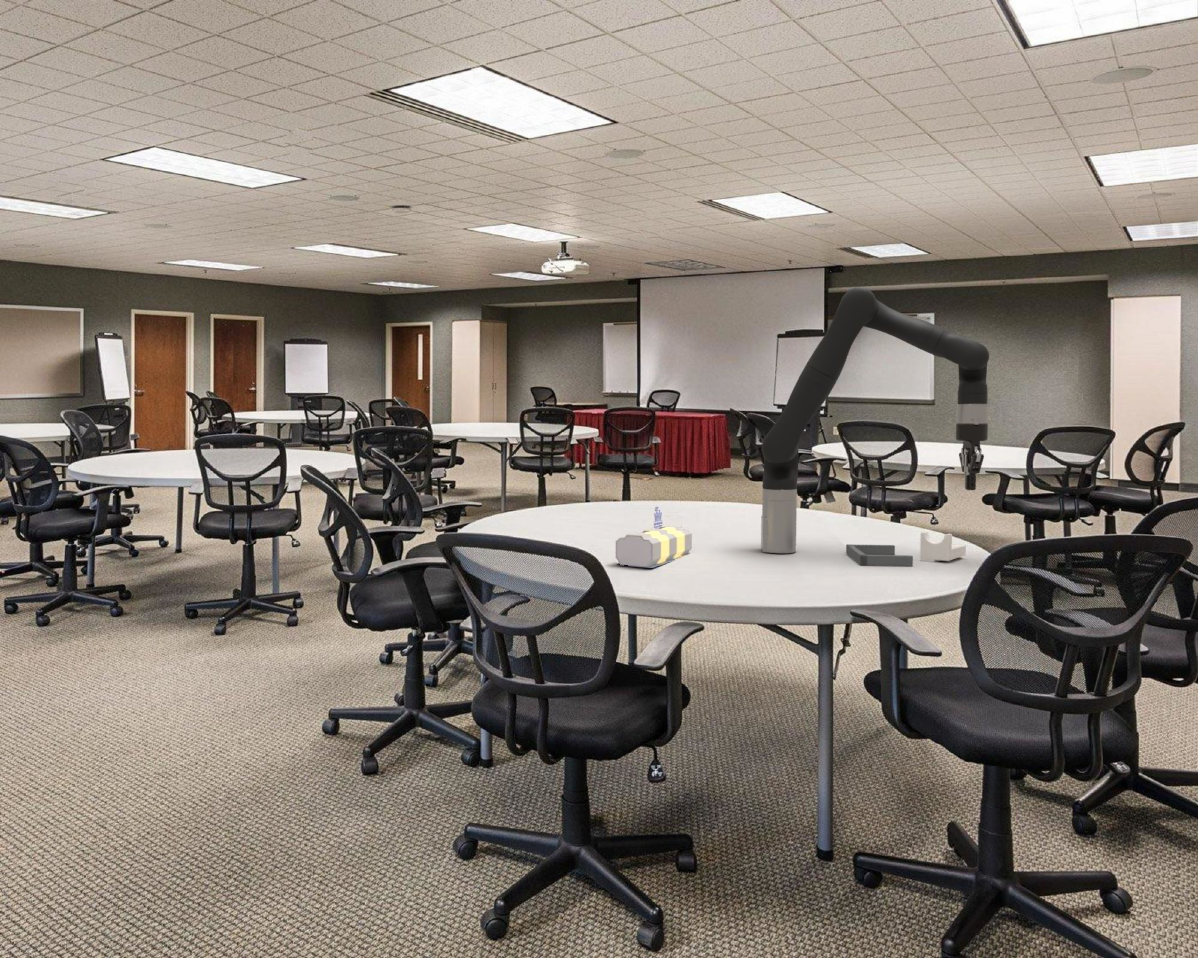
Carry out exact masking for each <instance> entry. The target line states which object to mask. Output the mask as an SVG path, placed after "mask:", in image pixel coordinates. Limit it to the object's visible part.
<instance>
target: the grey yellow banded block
mask: <svg viewBox="0 0 1198 958" xmlns="http://www.w3.org/2000/svg"><path fill="white" fill-rule="evenodd" d="M654 511H655V513H654V514H653V516H654V522H653V528H649V529H645V530H643V531H642V532H633V533H628V534H626V535H624V536H622V537H619V538H618V539H617V540H615V558H616V560H617V562H618V563H616V564H620V565H619V566H624V565H628V566H627V567H636V568H648V569H649V568H650V569H651V568H657V567H659V566H662V565H665V564H668V562H669V563H671V561H672V562H674V561H676V560H675V558H676V559H677V560H678V558H677V557H679V556H680V557H679V559H681V558H682V556H684V555H687V554H688V553H690V551H691V550H692V548H693V547H692V546H693V533H692V532H691V531H690V530H689V529H685V528H683V525H671V524H666V525H663V519H662V515H663V514H662V512H661V509H659V507H658V506H655V508H654Z"/></svg>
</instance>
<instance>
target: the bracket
mask: <svg viewBox="0 0 1198 958" xmlns="http://www.w3.org/2000/svg"><path fill="white" fill-rule="evenodd" d="M919 544H920V545H919V547H920V550H919V561H920V562H929V563H930V562H931V563H935V562H938V561H946V562H949V561H952V560H955V559H959V558H962V557H965V556H966V549H967V545H966V544H965V545H964V544H963V545H962V544H953V534H952V533H946V534H944V537H943V539H942V540H941V542H935V541H934V540H932V539H931V537H930V535H929V531H922V532H920V542H919Z"/></svg>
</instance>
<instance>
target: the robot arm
mask: <svg viewBox="0 0 1198 958" xmlns="http://www.w3.org/2000/svg"><path fill="white" fill-rule="evenodd" d="M863 328H868V329H873V330H874V331H878V332H882V333H884V334H888V335H890V336H892V337H894V338H896V339H898V340H900V341H903V342H904V343H906V344H908V345H910V346H913V347H915V348H917V349H919V350H921V351H924V352H925V353H928V354H930V355H932V356H934V357H937V358H943V359H945V360H948V361H950V362H952V363H954V364H956V365H958V389H957V407H956V416H955V417H956V418H955V440H956V441H959V442H963V443H962V447H961V450H960V452H959V453H958V457H959V462H960V466H961V471H962V473H963V474H964V476H965V479H964V480H965V481H964V482H965V483H964V489H965V490H967V491H975V490H976V489H977V488H976V487H977V476H978V474H980V473H981V469H982V467H983V466H982V465H983V461H984V458H985V455H984V453H983V452H982V447H981V443H980V442H985V441H986V442H987V441H988V437H989V435H988V434H989V433H988V432H989V410H988V409H989V408H988V395H989V394H988V383H987V375H988V374H987V373H988V370H987V369H988V362H989V359H990V352H989V349H988V348H987V347H986V346H985V345H984V344H982V343H980V342H978V341H975V340H973V339H970V338H967V337H964V336H961V335H957V334H955V333H953V332H951V331H950V330H948V329H945V328H943V327H941V326H939V325H937V324H933V323H931V322H929V321H927V320H923V319H921V318H919V317H918V318H917V317H913V316H912V315H907V314H905V313H901V312H900V311H897V310H895V309H893V308H890V307H889V306H887V305H886V304H884V303H882V302H881V301H879V300H878V299H876V296H875V294H874V293H873V292H872V290H870V289H868V288H867V287H863V286H857V287H853V288H852V289H849V290H848V291H846V292H845V293H844V294H843V296H842V298H841V299H840V302H839V305H838V307H837V309H836V312H835V314H834V315H833V318H832V321H831V323H830V325H829V327H828V329H827V330H826V333H825V335H824V336H823V337H822V339H821V340H820V342H819V343H818V344H817V346H816V348H815V349H814V350H813V352H812V354H811V356H810V358H809V359H808V361H807V362H806V364H805V366H804V368H803V370H802V371H801V373H800V375H799V377H798V378H797V381H796V383H795V384H794V387H793V389H792V391H791V392H790V395H789V398H788V400H787V403H786V405H785V407H784V409H783V411H782V412H781V414H780V416H779V417H778V419H777V420H776V421H775V423H774V424H773V426H772V427H771V429H770V430H769V431H768V433H767V434H766V435H765V437H764V438H763V441H762V444H761V452H762V455H763V457H764V460H763V463H764V464H763V465H764V466H763V476H762V493H761V494H762V496H761V497H762V500H761V501H762V503H761V505H762V506H761V507H762V509H761V510H762V511H761V514H762V515H761V520H760V521H761V522H760V523H761V524H760V530H761V531H760V532H761V533H760V550H761V552H762V553H772V554H792V553H796V552H797V519H798V518H797V506H798V505H797V504H798V500H797V499H798V498H797V497H798V496H797V495H798V479H799V478H798V476H799V442H800V440H801V438H802V436H803V433H804V431H805V429H806V427H807V426H808V424H809V423H810V421H811V420H812V418H813V417H814V415H816V413H817V412H818V411H819V409H820V408H821V407H822V405H823V404H824V403H825V402H826V400H827V398H828V396H829V395H830V394H831V393H832V390H833V389H834V387H835V385H836V384H837V381H838V380H839V378H840V375H841V373H842V371H843V370H844V367H845V364H846V362H847V358H848V356H849V352H850V350H851V348H852V345H853V343H854V342H855V340H856V338H857V337H858V336H859V333H860V332H861V331H862V329H863ZM982 453H983V454H982Z"/></svg>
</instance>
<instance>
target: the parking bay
mask: <svg viewBox="0 0 1198 958" xmlns="http://www.w3.org/2000/svg"><path fill="white" fill-rule="evenodd" d="M845 547H846V549H845V553H847V554H846V555H847V556H849V558H851V559H852V560H854V561H855V562H856V563H857V564H858V565H860V566H861V567H862V566H863V567H913V566H914V563H913V561H914V557H913V555H909V554H908V555H904V554H903V555H900V554H897V555H896V554H895V551H896V549H895V548H896V545H895V544H846V546H845Z"/></svg>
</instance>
